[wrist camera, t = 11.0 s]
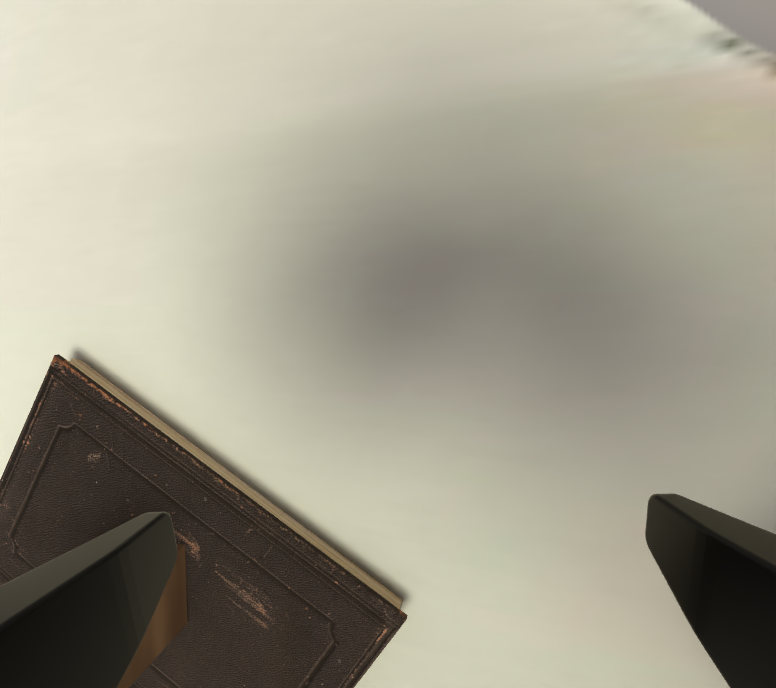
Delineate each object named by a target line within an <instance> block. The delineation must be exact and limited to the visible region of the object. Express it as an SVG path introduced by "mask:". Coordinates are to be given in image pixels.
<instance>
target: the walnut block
mask: <svg viewBox="0 0 776 688" xmlns="http://www.w3.org/2000/svg"><path fill="white" fill-rule="evenodd" d="M187 623H188V620H187V590H186V560H185V545H182V544H177V559H176V563H175V565H174V568H173V570H172V572H171V575H170V577H169V579H168V582H167V584H166V586H165V589H164V591H163V593H162V596H161V598H160V600H159V603H158V605H157V607H156V610H155V612H154V614H153V617H152V619H151V621H150V624H149V626H148V628H147V631H146V633H145V635H144V637H143V639H142V641H141V644H140V646H139V648H138V650H137V652H136V653H135V655H134V657H133V659H132V661H131V663H130V665H129V667H128V669H127V671H126V672H125V674H124V676H123V678H122V680H121V682H120V684H119V685H118V687H117V688H129V687H130V686H131V685H132V683H133V682H134V681H135V680H136V679H137V678H138V677H139V676H140V675H141V674H142V672H143V671H144V670H145V669H146V668H147V667H148V666H149V665H150V664H151V663H152V662H153V660H154V659H155V658H156V657H157V656H158V655H159V654H160V653H161V652H162V651H163V649H164V648H165V647H166V646H167V645H168V644H169V643H170V642H171V641H172V640H173V638H174V637H175V636H176V635H177V634H178V633H179V632H180V631H181V630H182V629H183V628H184V626H185V625H186V624H187Z"/></svg>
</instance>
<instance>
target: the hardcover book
mask: <svg viewBox="0 0 776 688" xmlns="http://www.w3.org/2000/svg"><path fill="white" fill-rule="evenodd" d="M148 512H167V513H168V514H170V516H171V519H172V523H173V528H174V533H175V539H176V544H182V545H185V560H186V590H187V620H188V623H187V624H186V625H185V626H184V628H183V629H182V630H181V631H180V632H179V633H178V634H177V635H176V636H175V637H174V638H173V640H172V641H171V642H170V643H169V644H168V645H167V646H166V647H165V648H164V649H163V651H162V652H161V653H160V654H159V655H158V656H157V657H156V658H155V659H154V660H153V662H152V663H151V664H150V665H149V666H148V667H147V668H146V669H145V670H144V671H143V672H142V674H141V675H140V676H139V677H138V678H137V679H136V680H135V681H134V682H133V683H132V685H131V686H130V687H129V688H354V687H355V686H356V684H357V683H358V682H359V680H360V679H361V678H362V677H363V675H364V674H365V673H366V671H367V670H368V669H369V667H370V666H371V665H372V664H373V662H374V661H375V660H376V658H377V657H378V656H379V654H380V653H381V652H382V651H383V649H384V648H385V647H386V645H387V644H388V643H389V641H390V640H391V639H392V638H393V636H394V635H395V634H396V632H397V631H398V630H399V628H400V627H401V626H402V625H403V623H404V622H405V621H406V619H407V615H406V614H405V613H404V612H402V611H401V610H400V605H401V603H402V602H403V600H401V599H400V598H399V597H397V596H396V595H395V594H393V593H392V592H391V591H389V590H388V589H387V588H385V587H384V586H383V585H381V584H380V583H379V582H377V581H376V580H375V579H373V578H372V577H371V576H369V575H368V574H367V573H365V572H364V571H363V570H361V569H360V568H359V567H357V566H356V565H355V564H353V563H352V562H351V561H349V560H348V559H347V558H345V557H344V556H343V555H341V554H340V553H338V552H337V551H336V550H334V549H333V548H332V547H330V546H329V545H328V544H326V543H325V542H324V541H322V540H321V539H320V538H318V537H317V536H316V535H314V534H313V533H312V532H310V531H309V530H308V529H306V528H305V527H304V526H302V525H301V524H300V523H298V522H297V521H296V520H294V519H293V518H292V517H290V516H289V515H288V514H286V513H285V512H284V511H282V510H281V509H280V508H278V507H277V506H275V505H274V504H273V503H271V502H270V501H269V500H267V499H266V498H265V497H263V496H262V495H261V494H259V493H258V492H257V491H255V490H254V489H253V488H251V487H250V486H249V485H247V484H246V483H245V482H243V481H242V480H241V479H239V478H238V477H237V476H235V475H234V474H233V473H231V472H230V471H229V470H227V469H226V468H225V467H223V466H222V465H221V464H219V463H218V462H217V461H215V460H214V459H213V458H211V457H210V456H208V455H207V454H206V453H204V452H203V451H202V450H200V449H199V448H198V447H196V446H195V445H194V444H192V443H191V442H190V441H188V440H187V439H186V438H184V437H183V436H182V435H180V434H179V433H178V432H176V431H175V430H174V429H172V428H171V427H170V426H168V425H167V424H166V423H164V422H163V421H162V420H160V419H159V418H158V417H156V416H155V415H154V414H152V413H151V412H150V411H148V410H147V409H145V408H144V407H143V406H141V405H140V404H139V403H137V402H136V401H135V400H133V399H132V398H131V397H129V396H128V395H127V394H125V393H124V392H123V391H121V390H120V389H119V388H117V387H116V386H115V385H113V384H112V383H111V382H109V381H108V380H107V379H105V378H104V377H103V376H101V375H100V374H99V373H97V372H96V371H95V370H93V369H92V368H91V367H89V366H88V365H87V364H85V363H84V362H83V361H81V360H77V359H71V361H70V362H68V361H67V360H66V359H64V358H63V357H62V356H60V355H54V358H53V360H52V362H51V365H50V367H49V369H48V371H47V374H46V376H45V378H44V381H43V383H42V385H41V388H40V390H39V392H38V394H37V397H36V399H35V401H34V404H33V406H32V408H31V411H30V413H29V415H28V418H27V420H26V422H25V424H24V427H23V429H22V431H21V434H20V436H19V438H18V441H17V443H16V445H15V447H14V450H13V452H12V454H11V457H10V459H9V461H8V464H7V466H6V468H5V470H4V473H3V475H2V477H1V480H0V586H2V585H4V584H6V583H8V582H10V581H12V580H13V579H15V578H17V577H19V576H21V575H23V574H25V573H27V572H29V571H31V570H33V569H35V568H37V567H39V566H41V565H43V564H45V563H47V562H49V561H51V560H53V559H55V558H57V557H59V556H61V555H63V554H65V553H67V552H69V551H71V550H73V549H75V548H77V547H79V546H81V545H83V544H85V543H87V542H89V541H91V540H92V539H94V538H96V537H98V536H100V535H102V534H104V533H106V532H108V531H110V530H112V529H114V528H116V527H118V526H120V525H122V524H124V523H126V522H128V521H130V520H132V519H134V518H136V517H138V516H140V515H142V514H144V513H148Z"/></svg>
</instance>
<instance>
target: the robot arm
mask: <svg viewBox="0 0 776 688" xmlns="http://www.w3.org/2000/svg"><path fill="white" fill-rule="evenodd" d="M646 541H647V545H648V547H649V549H650V551H651V553H652V555H653V557H654V559H655V561H656V563H657V564H658V566H659V568H660V570H661V572H662V574H663V576H664V578H665V579H666V581H667V583H668V585H669V587H670V589H671V591H672V592H673V594H674V596H675V598H676V600H677V602H678V604H679V606H680V607H681V609H682V611H683V613H684V615H685V617H686V619H687V620H688V622H689V624H690V626H691V627H692V629H693V631H694V632H695V634H696V636H697V637H698V639H699V640H700V642H701V644H702V645H703V647H704V648H705V650H706V651H707V653H708V654H709V656H710V657H711V659H712V661H713V662H714V664H715V665H716V667H717V668H718V670H719V671H720V673H721V674H722V676H723V677H724V679H725V680H726V682H727V683H728V685H729V686H730V688H776V535H775V534H773V533H770V532H768V531H766V530H763V529H761V528H758V527H756V526H753V525H751V524H748V523H746V522H744V521H741V520H739V519H736V518H734V517H731V516H729V515H726V514H724V513H722V512H719V511H717V510H714V509H712V508H709V507H707V506H704V505H702V504H700V503H697V502H695V501H692V500H690V499H687V498H685V497H683V496H680V495H677V494H654V495H652V496H651V497H650V499H649V501H648V510H647V521H646ZM176 559H177V544H176V539H175V533H174V528H173V523H172V519H171V516H170V514H168V513H167V512H148V513H144V514H142V515H140V516H138V517H136V518H134V519H132V520H130V521H128V522H126V523H124V524H122V525H120V526H118V527H116V528H114V529H112V530H110V531H108V532H106V533H104V534H102V535H100V536H98V537H96V538H94V539H92V540H91V541H89V542H87V543H85V544H83V545H81V546H79V547H77V548H75V549H73V550H71V551H69V552H67V553H65V554H63V555H61V556H59V557H57V558H55V559H53V560H51V561H49V562H47V563H45V564H43V565H41V566H39V567H37V568H35V569H33V570H31V571H29V572H27V573H25V574H23V575H21V576H19V577H17V578H15V579H13V580H12V581H10V582H8V583H6V584H4V585H2V586H0V688H117V687H118V685H119V684H120V682H121V680H122V678H123V676H124V674H125V672H126V671H127V669H128V667H129V665H130V663H131V661H132V659H133V657H134V655H135V653H136V652H137V650H138V648H139V646H140V644H141V641H142V639H143V637H144V635H145V633H146V631H147V628H148V626H149V624H150V621H151V619H152V617H153V614H154V612H155V610H156V607H157V605H158V603H159V600H160V598H161V596H162V593H163V591H164V589H165V586H166V584H167V582H168V579H169V577H170V575H171V572H172V570H173V568H174V565H175V563H176Z"/></svg>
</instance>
